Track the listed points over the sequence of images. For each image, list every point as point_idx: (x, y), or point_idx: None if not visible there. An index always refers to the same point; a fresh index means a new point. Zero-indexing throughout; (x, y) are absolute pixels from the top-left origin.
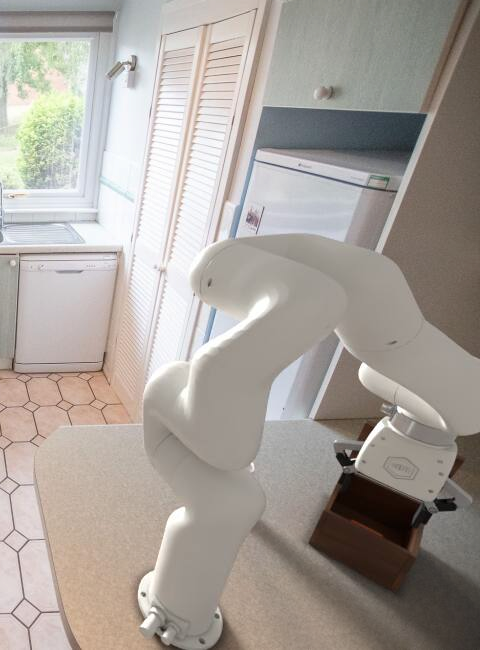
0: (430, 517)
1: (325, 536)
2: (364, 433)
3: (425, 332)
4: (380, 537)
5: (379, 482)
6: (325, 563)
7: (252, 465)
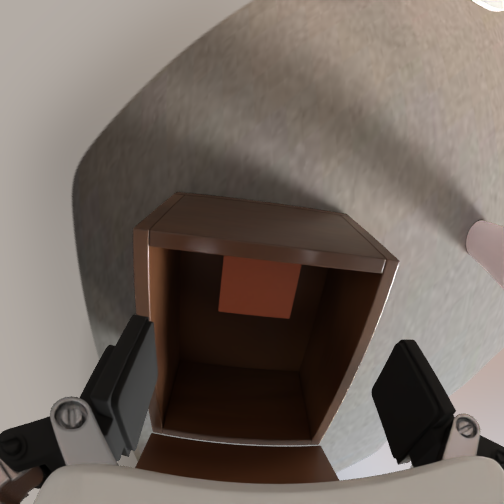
0: (90, 378)
1: (339, 224)
2: None
3: None
4: (235, 249)
5: (249, 446)
6: (310, 175)
7: None
